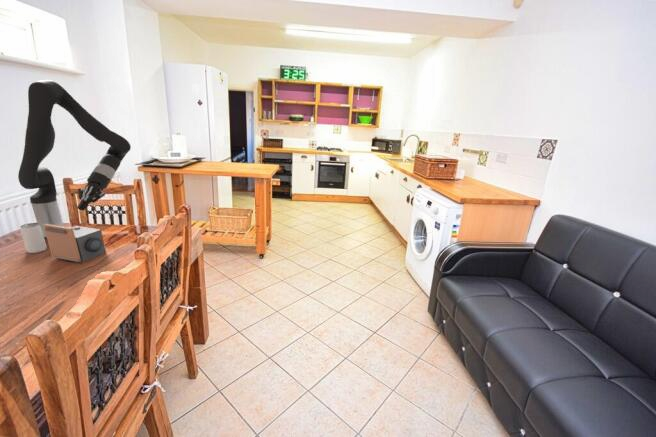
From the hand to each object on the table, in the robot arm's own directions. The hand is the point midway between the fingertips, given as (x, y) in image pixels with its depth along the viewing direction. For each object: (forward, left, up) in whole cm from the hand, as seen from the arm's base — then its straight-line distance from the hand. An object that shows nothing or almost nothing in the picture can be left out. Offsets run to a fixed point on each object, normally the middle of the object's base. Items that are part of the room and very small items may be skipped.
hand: (80, 209), depth 126 cm
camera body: (+3, -2, -20) cm, 20 cm away
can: (-14, -19, -20) cm, 31 cm away
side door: (+6, -8, -19) cm, 21 cm away
